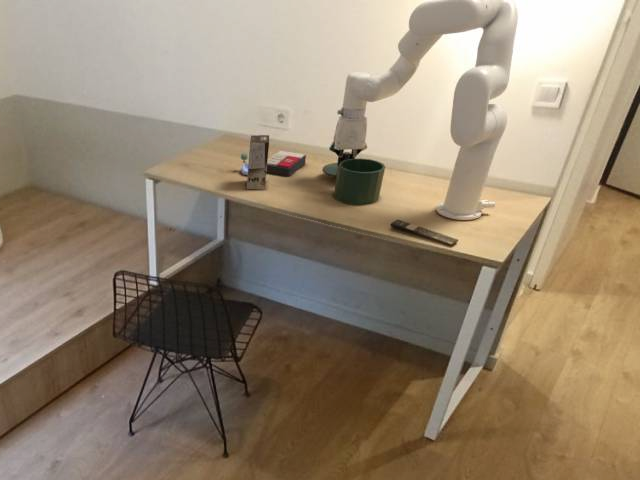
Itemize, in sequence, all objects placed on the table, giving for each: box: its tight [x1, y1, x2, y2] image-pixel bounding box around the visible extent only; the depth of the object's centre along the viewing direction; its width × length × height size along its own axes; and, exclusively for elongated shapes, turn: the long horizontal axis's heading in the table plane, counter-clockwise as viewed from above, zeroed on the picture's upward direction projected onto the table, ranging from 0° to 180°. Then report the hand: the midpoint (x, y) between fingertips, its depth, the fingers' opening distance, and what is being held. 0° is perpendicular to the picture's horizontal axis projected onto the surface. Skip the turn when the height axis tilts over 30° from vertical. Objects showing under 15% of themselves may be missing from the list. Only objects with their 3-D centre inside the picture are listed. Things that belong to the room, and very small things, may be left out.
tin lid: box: [322, 151, 351, 178], centre depth 217 cm, size 15×15×7 cm
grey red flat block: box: [266, 150, 307, 177], centre depth 231 cm, size 11×4×15 cm
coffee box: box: [246, 134, 270, 191], centre depth 215 cm, size 9×6×16 cm
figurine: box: [240, 152, 249, 176], centre depth 228 cm, size 8×7×7 cm
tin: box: [333, 157, 386, 206], centre depth 204 cm, size 14×14×10 cm
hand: (344, 167), depth 218 cm, fingers closed on tin lid, 2 cm apart
